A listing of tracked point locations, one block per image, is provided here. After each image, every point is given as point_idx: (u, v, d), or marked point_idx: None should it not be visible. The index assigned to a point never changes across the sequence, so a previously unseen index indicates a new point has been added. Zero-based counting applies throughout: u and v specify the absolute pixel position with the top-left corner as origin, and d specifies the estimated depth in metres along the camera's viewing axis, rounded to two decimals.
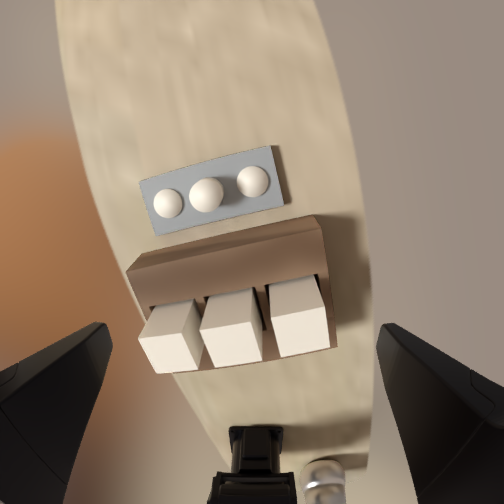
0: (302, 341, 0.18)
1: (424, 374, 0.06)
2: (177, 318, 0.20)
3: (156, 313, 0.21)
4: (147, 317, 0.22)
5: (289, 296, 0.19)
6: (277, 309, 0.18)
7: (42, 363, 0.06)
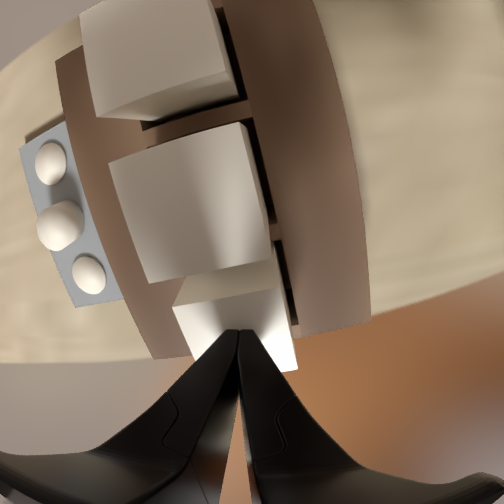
0: (168, 26, 0.05)
1: None
2: None
3: None
4: None
5: None
6: None
7: (205, 387, 0.06)
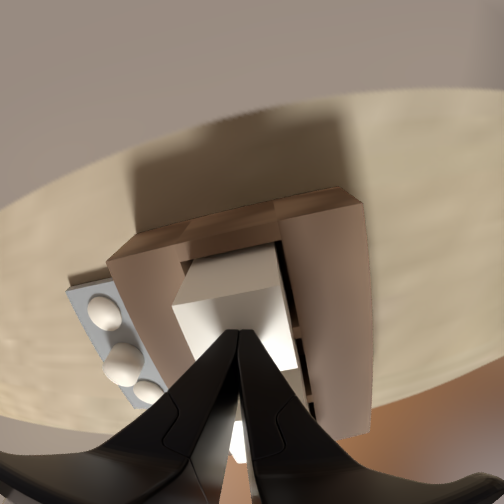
0: None
1: (241, 390, 0.06)
2: None
3: None
4: None
5: None
6: None
7: (205, 387, 0.06)
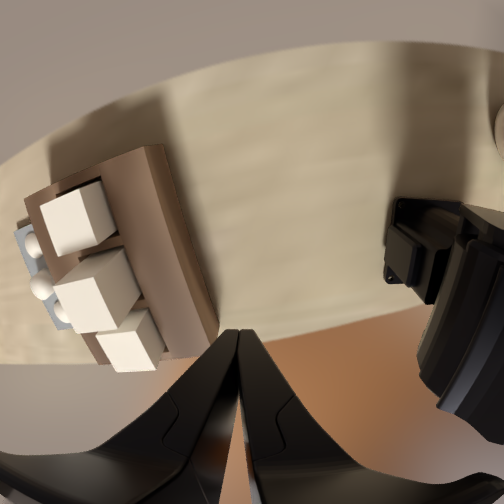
0: (75, 222, 0.14)
1: None
2: None
3: None
4: None
5: None
6: None
7: (205, 387, 0.06)
